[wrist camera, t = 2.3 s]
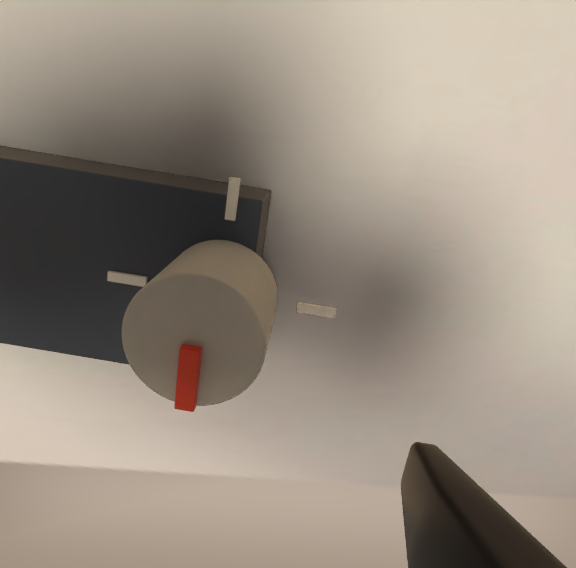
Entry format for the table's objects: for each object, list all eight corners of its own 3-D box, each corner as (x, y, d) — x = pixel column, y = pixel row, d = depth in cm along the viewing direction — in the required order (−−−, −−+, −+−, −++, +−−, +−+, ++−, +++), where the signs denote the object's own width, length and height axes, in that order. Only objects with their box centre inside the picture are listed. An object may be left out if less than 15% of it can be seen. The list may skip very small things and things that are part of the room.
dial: (170, 230, 16) (117, 264, 11) (285, 249, 15) (274, 290, 11) (162, 335, 17) (113, 400, 13) (269, 353, 17) (253, 423, 13)
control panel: (352, 187, 18) (359, 198, 15) (316, 371, 20) (316, 412, 17) (-177, 101, 18) (-277, 94, 15) (-145, 294, 20) (-224, 321, 18)
